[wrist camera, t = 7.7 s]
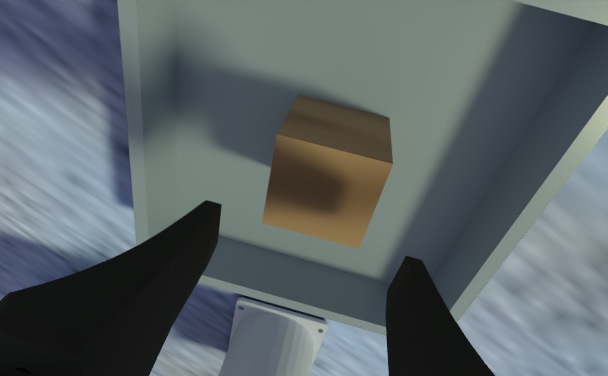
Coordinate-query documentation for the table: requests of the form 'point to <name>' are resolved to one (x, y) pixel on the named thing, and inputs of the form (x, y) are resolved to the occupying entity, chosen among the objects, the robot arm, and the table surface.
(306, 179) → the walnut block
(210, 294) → the table surface
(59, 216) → the table surface
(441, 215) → the slate bin
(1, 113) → the table surface
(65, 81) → the table surface
